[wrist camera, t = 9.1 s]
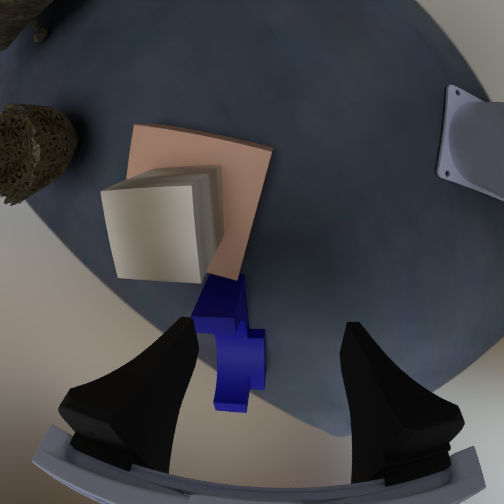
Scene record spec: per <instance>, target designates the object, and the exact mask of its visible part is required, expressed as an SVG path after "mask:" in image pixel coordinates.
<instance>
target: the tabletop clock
mask: <svg viewBox="0 0 504 504" xmlns="http://www.w3.org/2000/svg"><path fill="white" fill-rule="evenodd" d="M53 1H54V0H0V51H3V50H5V49H7V48H8V46H9V45H10V44H11V43H12V42H13V41H14V40H15V38H16V37H17V36H18V35H19V34H20V33H21V32H22V31H23V30H24V29H25V28H26V27H27V25H28V24H30V25H31V27H32V28H33V29H34V30H35V34H34V37H33V39H34V41H35V42H42V41H44V40H45V39H46V37H47V34H48V32H47V30H46V29H45V28H44V29H40V27H39V25H38V22H37V19H36V16H38V15H39V14H40V13H41V12H42V11H43V10H44V9H45V8H46V7H47V6H48V5H49V4H50V3H52V2H53Z"/></svg>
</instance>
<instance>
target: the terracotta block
mask: <svg viewBox="0 0 504 504" xmlns="http://www.w3.org/2000/svg"><path fill="white" fill-rule="evenodd" d="M272 151H273V148H272V147H268V146H264V145H261V144H257V143H253V142H249V141H244V140H240V139H236V138H231V137H227V136H222V135H218V134H213V133H208V132H203V131H198V130H192V129H187V128H181V127H175V126H168V125H162V124H138V125H134V129H133V135H132V141H131V148H130V155H129V162H128V170H127V179H129V178H131V177H134V176H136V175H139V174H141V173H143V172H146V171H148V170H151V169H154V168H167V167H183V166H203V165H221V172H222V197H223V218H224V236H223V238H222V240H221V242H220V244H219V246H218V249H217V251H216V253H215V255H214V257H213V259H212V261H211V263H210V265H209V267H208V270H207V273H211V274H215V275H218V276H222V277H226V278H229V279H233V280H238V276H239V272H240V269H241V265H242V261H243V258H244V254H245V250H246V246H247V243H248V239H249V235H250V232H251V228H252V224H253V220H254V217H255V213H256V209H257V206H258V202H259V198H260V195H261V191H262V187H263V184H264V180H265V176H266V173H267V169H268V165H269V162H270V158H271V154H272ZM127 179H126V180H127Z"/></svg>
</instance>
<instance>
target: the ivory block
mask: <svg viewBox="0 0 504 504" xmlns="http://www.w3.org/2000/svg"><path fill="white" fill-rule="evenodd" d="M101 197H102V203H103V210H104V215H105V221H106V226H107V231H108V236H109V241H110V246H111V250H112V255H113V259H114V263H115V267H116V271H117V275H118V278H128V279H140V280H154V281H168V282H184V283H201V282H202V280H203V278H204V276H205V274H206V272H207V270H208V267H209V265H210V263H211V261H212V259H213V257H214V255H215V253H216V251H217V249H218V246H219V244H220V242H221V240H222V238H223V236H224V218H223V197H222V172H221V165H203V166H183V167H167V168H154V169H151V170H148V171H146V172H143V173H141V174H139V175H136V176H134V177H131V178H129V179H127V180H124V181H122V182H120V183H118V184H115V185H113V186H111V187H109V188H107V189H104V190H102V191H101Z"/></svg>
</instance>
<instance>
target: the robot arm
mask: <svg viewBox="0 0 504 504" xmlns="http://www.w3.org/2000/svg"><path fill="white" fill-rule="evenodd" d="M455 91H457V93H458V95H456V92H455ZM446 171H447V172H448V174H447V176H446V175H445V172H446ZM436 173H437V175H438V177H440V178H443V179H446V180H449V181H452V182H455V183H458V184H461V185H463V186H466V187H469V188H472V189H474V190H477V191H480V192H482V193H485V194H487V195H490V196H492V197H495V198H497V199H499V200H502V201H504V102H484V101H482V100H480V99H479V98H477V97H475V96H473V95H471V94H469V93H468V92H466V91H464V90H462V89H460V88H458V87H456V86H454V85H448V86H447V88H446V103H445V114H444V124H443V132H442V139H441V146H440V152H439V158H438V164H437V169H436ZM198 351H199V345H198V340H197V335H196V330H195V325H194V319H193V318H190V317H181V318H179V319H178V320H177V321H176V322H175V323H174V324H173V325H172V326H171V327H170V328H169V329H168V330H167V331H166V332H165V333H164V334H163V335H162V336H161V337H159V338H158V340H156V341H155V342H154V343H153V344H152V345H151V346H149V347H148V348H147V349H146V350H144V351H143V352H142V353H141V354H140V355H138V356H137V357H135V358H134V359H133V360H131V361H130V362H128V363H127V364H125V365H123V366H122V367H120V368H118V369H116V370H115V371H113V372H111V373H109V374H107V375H105V376H103V377H101V378H99V379H96V380H94V381H92V382H89V383H86V384H83V385H81V386H77V387H74V388H70V390H69V391H68V393H67V394H66V396H65V398H64V399H63V401H62V402H61V404H60V406H59V408H58V410H59V413H60V415H61V416H62V418H63V419H64V420H65V421H66V422H67V423H68V424H69V426H70V427H71V428H72V429H73V430H74V431H75V434H74V436H72V435H70V434H69V433H67V432H65V431H63V430H61V429H59V428H57V427H55V426H53V425H51V426H50V427H49V429H48V431H47V433H46V435H45V436H44V438H43V440H42V442H41V444H40V445H39V448H38V449H37V451H36V453H35V455H34V457H33V459H32V462H33V463H34V464H36V465H37V466H38V467H40V468H41V469H42V470H43V471H45V472H46V473H48V474H49V475H51V476H52V477H53V478H55V479H56V480H58V481H59V482H61V483H63V484H64V485H66V486H68V487H70V488H72V489H74V490H75V491H77V492H79V493H81V494H83V495H85V496H87V497H89V498H91V499H93V500H95V501H97V502H99V503H101V504H459V503H461V502H463V501H465V500H466V499H468V498H470V497H472V496H473V495H475V494H477V493H478V492H480V491H482V490H483V489H485V487H486V485H485V481H484V478H483V473H482V470H481V466H480V463H479V460H478V456H477V453H476V450H475V447H474V446H472V447H469V448H467V449H464V450H462V451H459V452H457V453H455V454H453V455H451V456H449V453H448V451H449V450H450V449H451V447H450V444H449V442H450V441H451V440H452V439H453V438H454V437H455V436H456V435H457V434H458V433H459V432H460V431H461V430H462V428H463V426H464V424H465V422H464V419H463V416H462V414H461V411H460V409H459V407H458V406H457V405H455V404H453V403H451V402H449V401H447V400H445V399H442V398H440V397H439V396H437V395H435V394H434V393H432V392H430V391H429V390H427V389H426V388H424V387H423V386H421V385H420V384H418V383H417V382H416V381H414V380H413V379H412V378H410V377H409V376H408V375H407V374H406V373H405V372H403V371H402V370H401V369H400V368H399V367H398V366H397V365H396V364H395V363H394V362H393V361H392V360H391V359H390V358H389V357H388V356H387V355H386V354H385V353H384V351H383V350H382V349H381V348H380V347H379V346H378V344H377V343H376V342H375V341H374V340H373V338H372V337H371V336H370V335H369V333H368V332H367V331H366V330H365V328H364V327H363V326H362V325H361V323H360V322H347V324H346V328H345V333H344V337H343V341H342V345H341V349H340V363H341V372H342V377H343V381H344V386H345V390H346V395H347V400H348V404H349V410H350V417H351V431H352V476H351V484H347V485H339V486H327V487H311V488H262V487H247V486H235V485H227V484H219V483H212V482H206V481H200V480H194V479H189V478H184V477H179V476H175V475H171V474H169V465H170V457H171V451H172V444H173V439H174V433H175V428H176V424H177V419H178V415H179V410H180V407H181V404H182V400H183V398H184V395H185V392H186V389H187V387H188V384H189V382H190V379H191V376H192V373H193V371H194V368H195V365H196V361H197V356H198ZM184 494H186V495H190V496H186V495H184Z"/></svg>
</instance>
